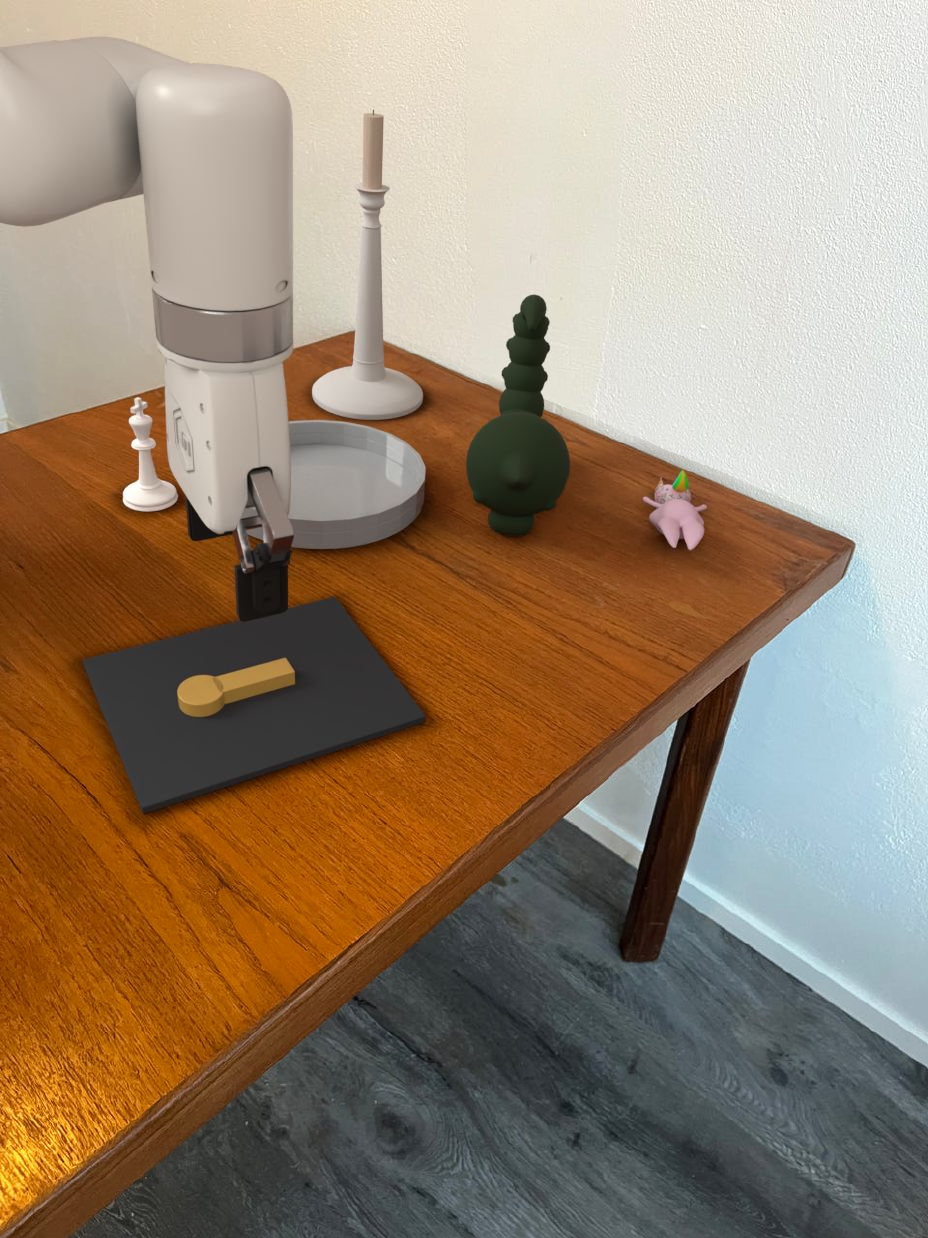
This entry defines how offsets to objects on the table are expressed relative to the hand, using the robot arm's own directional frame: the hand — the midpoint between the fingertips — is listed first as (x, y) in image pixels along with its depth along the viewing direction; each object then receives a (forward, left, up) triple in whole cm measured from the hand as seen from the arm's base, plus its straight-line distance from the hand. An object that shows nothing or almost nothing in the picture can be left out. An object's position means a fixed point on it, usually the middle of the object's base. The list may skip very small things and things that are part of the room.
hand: (236, 573), depth 64 cm
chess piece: (+1, +30, -11) cm, 31 cm away
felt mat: (0, 0, -10) cm, 10 cm away
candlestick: (+30, +44, -11) cm, 54 cm away
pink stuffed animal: (+45, +5, -11) cm, 46 cm away
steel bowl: (+16, +25, -10) cm, 31 cm away
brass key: (-1, -1, -10) cm, 10 cm away
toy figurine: (+33, +17, -11) cm, 39 cm away
